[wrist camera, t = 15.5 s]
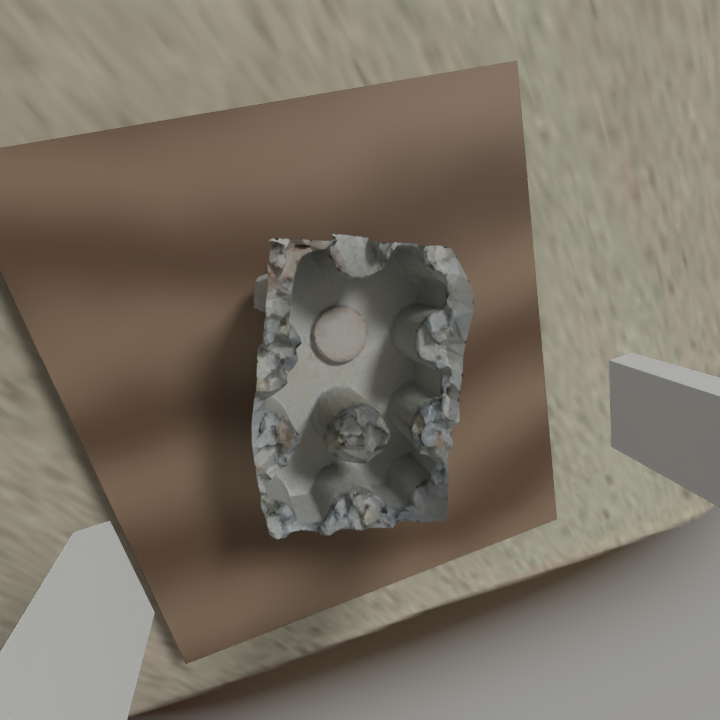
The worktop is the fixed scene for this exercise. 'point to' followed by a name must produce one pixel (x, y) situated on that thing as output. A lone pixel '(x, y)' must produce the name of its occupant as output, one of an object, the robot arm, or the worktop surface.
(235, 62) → the worktop surface
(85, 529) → the robot arm
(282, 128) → the walnut board
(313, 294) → the egg carton
